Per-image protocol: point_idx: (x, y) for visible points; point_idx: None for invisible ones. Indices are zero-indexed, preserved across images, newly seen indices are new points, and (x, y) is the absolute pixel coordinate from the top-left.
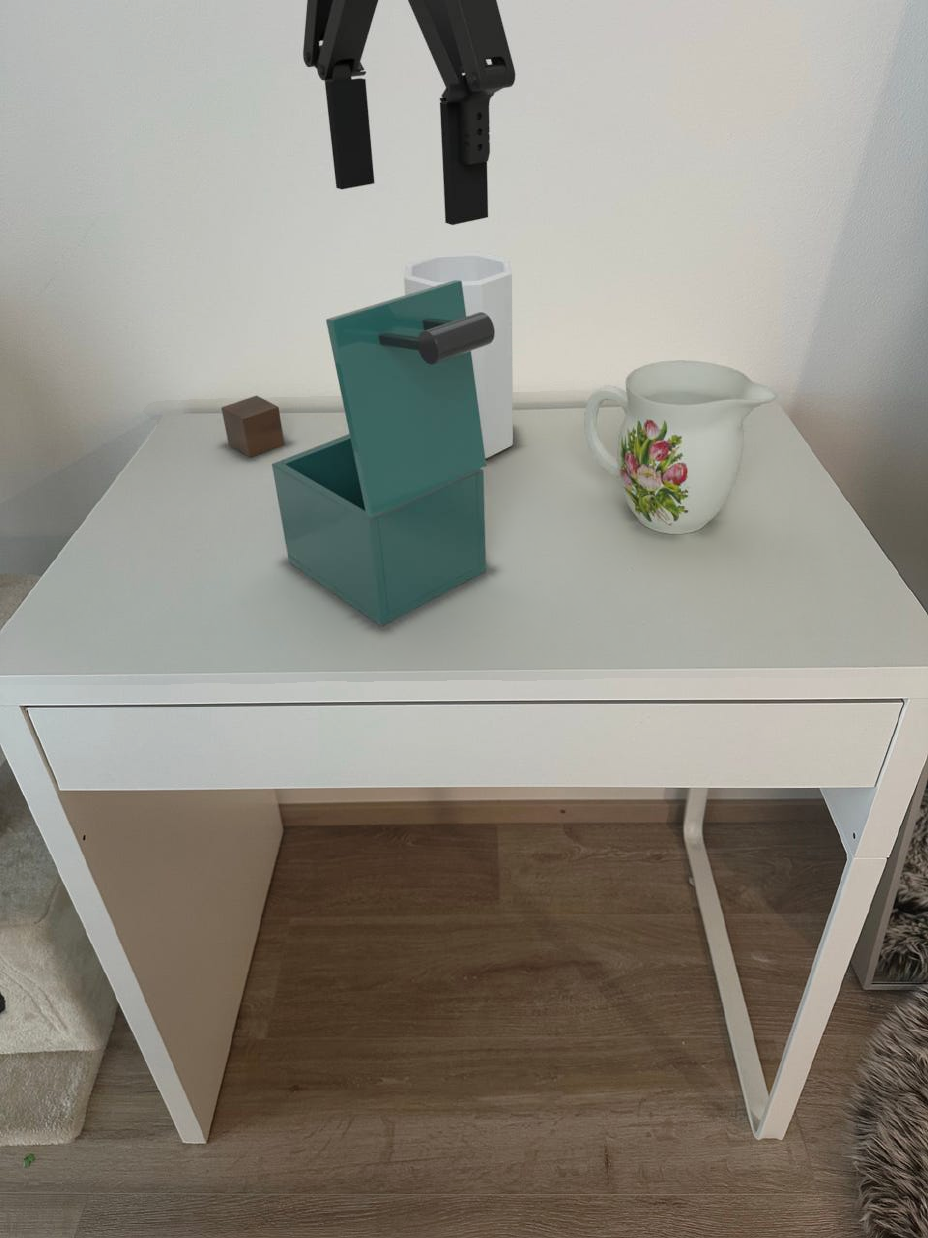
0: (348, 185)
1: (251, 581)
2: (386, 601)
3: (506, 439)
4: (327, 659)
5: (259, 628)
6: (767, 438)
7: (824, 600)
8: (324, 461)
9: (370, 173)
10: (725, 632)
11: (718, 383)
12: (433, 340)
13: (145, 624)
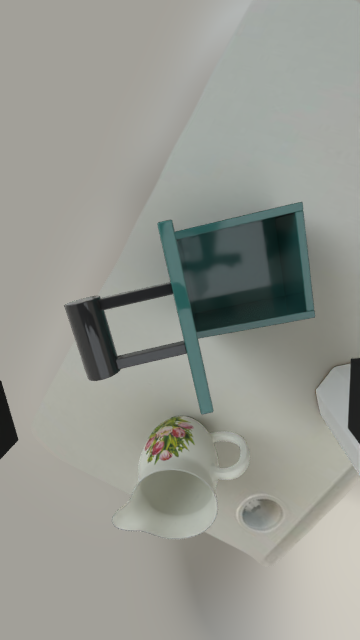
0: (352, 376)
1: (272, 177)
2: None
3: (321, 413)
4: (162, 192)
5: (215, 163)
6: (224, 528)
7: (80, 436)
8: (296, 252)
9: (356, 433)
10: (81, 384)
11: (183, 524)
12: (68, 304)
13: (266, 86)
